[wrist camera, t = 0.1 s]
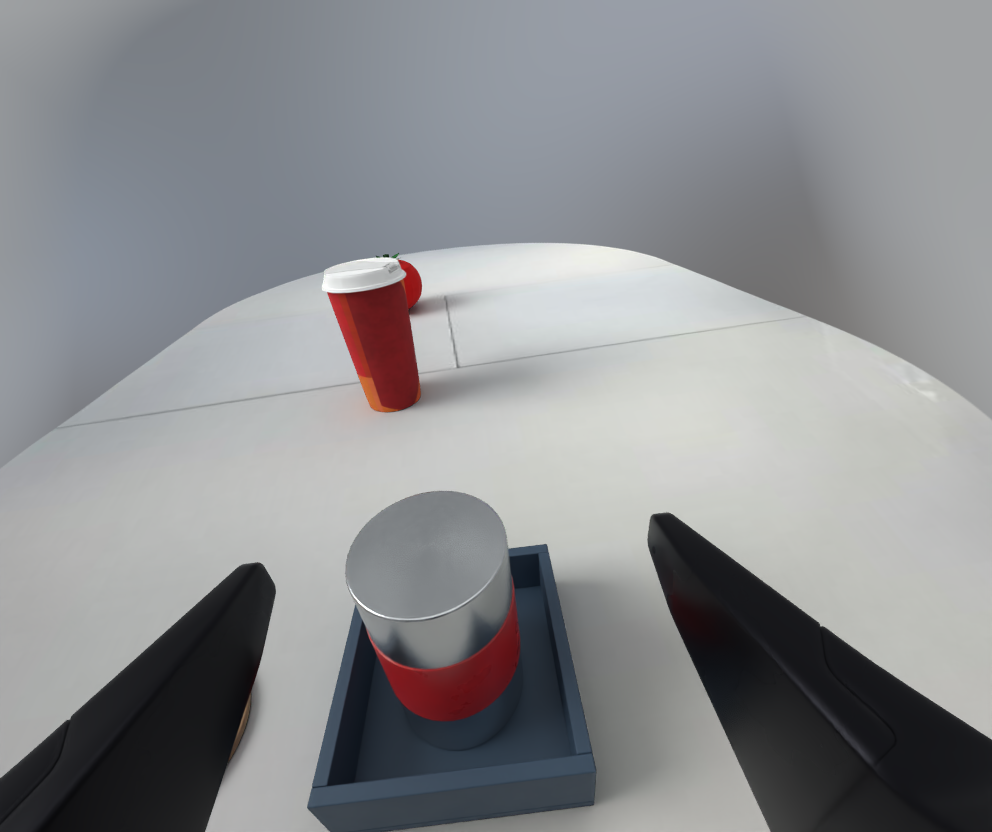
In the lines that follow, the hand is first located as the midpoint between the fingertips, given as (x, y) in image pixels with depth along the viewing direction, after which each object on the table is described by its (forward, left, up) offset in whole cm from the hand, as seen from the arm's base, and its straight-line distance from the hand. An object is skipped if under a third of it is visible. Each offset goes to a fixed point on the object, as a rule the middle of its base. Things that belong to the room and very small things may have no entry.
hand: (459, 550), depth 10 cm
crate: (+5, +2, -15) cm, 16 cm away
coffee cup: (+37, +10, -15) cm, 41 cm away
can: (+5, +2, -15) cm, 16 cm away
